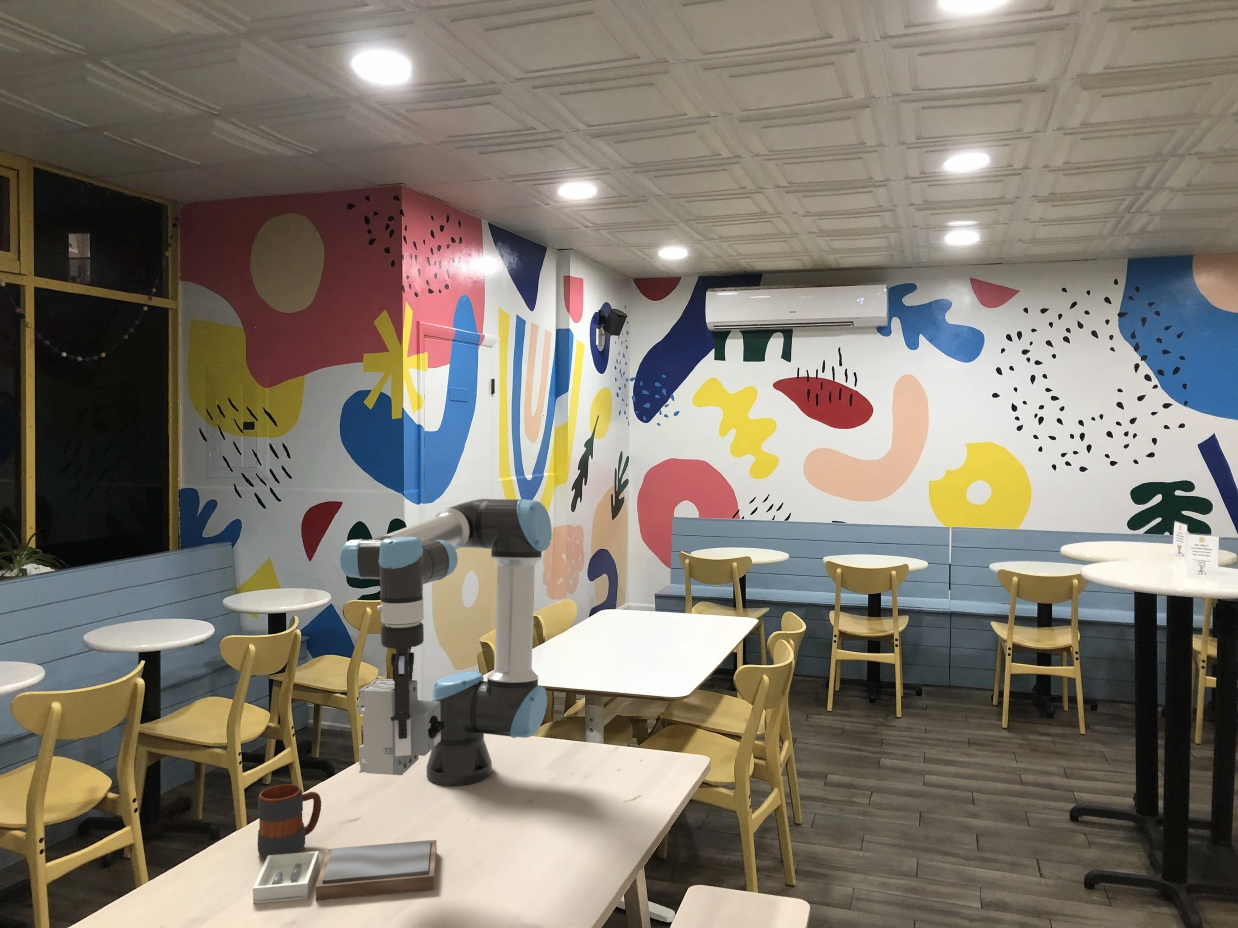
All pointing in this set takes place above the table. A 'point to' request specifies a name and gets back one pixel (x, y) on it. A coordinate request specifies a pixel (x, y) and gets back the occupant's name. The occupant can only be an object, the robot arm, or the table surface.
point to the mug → (284, 819)
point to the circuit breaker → (382, 730)
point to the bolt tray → (286, 877)
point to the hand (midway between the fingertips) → (404, 745)
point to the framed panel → (377, 870)
